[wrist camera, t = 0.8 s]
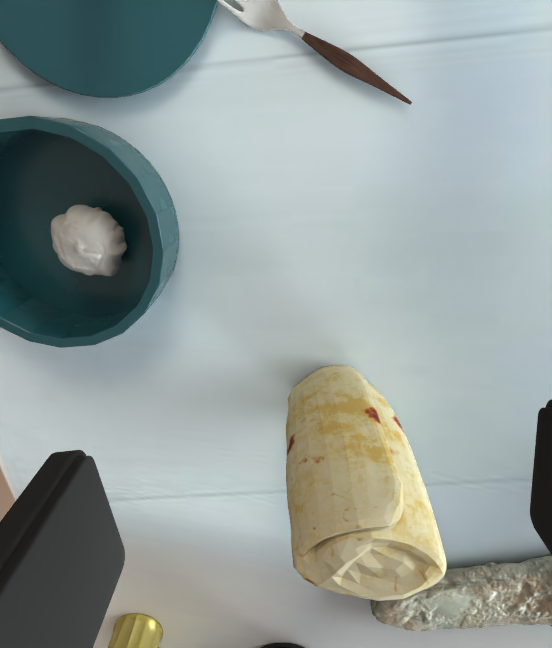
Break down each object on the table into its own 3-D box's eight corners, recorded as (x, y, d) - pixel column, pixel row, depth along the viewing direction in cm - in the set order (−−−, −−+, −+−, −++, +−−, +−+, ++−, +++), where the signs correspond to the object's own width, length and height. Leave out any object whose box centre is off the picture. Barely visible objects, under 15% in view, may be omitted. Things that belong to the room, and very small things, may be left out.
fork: (399, 121, 34) (405, 120, 33) (208, 1, 32) (203, -7, 30) (419, 86, 34) (427, 84, 32) (224, -39, 31) (221, -50, 29)
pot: (-25, 96, 34) (-79, 90, 29) (192, 147, 35) (176, 149, 30) (-19, 299, 41) (-63, 322, 36) (165, 337, 42) (149, 365, 37)
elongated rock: (363, 552, 53) (371, 606, 57) (368, 597, 48) (377, 652, 52) (697, 530, 48) (680, 590, 52) (740, 577, 43) (717, 639, 48)
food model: (284, 416, 45) (282, 615, 26) (288, 355, 42) (288, 528, 24) (384, 421, 45) (452, 624, 26) (394, 361, 42) (477, 538, 24)
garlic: (150, 237, 38) (130, 252, 33) (111, 282, 39) (86, 302, 34) (90, 184, 36) (60, 192, 31) (52, 233, 38) (18, 247, 33)
